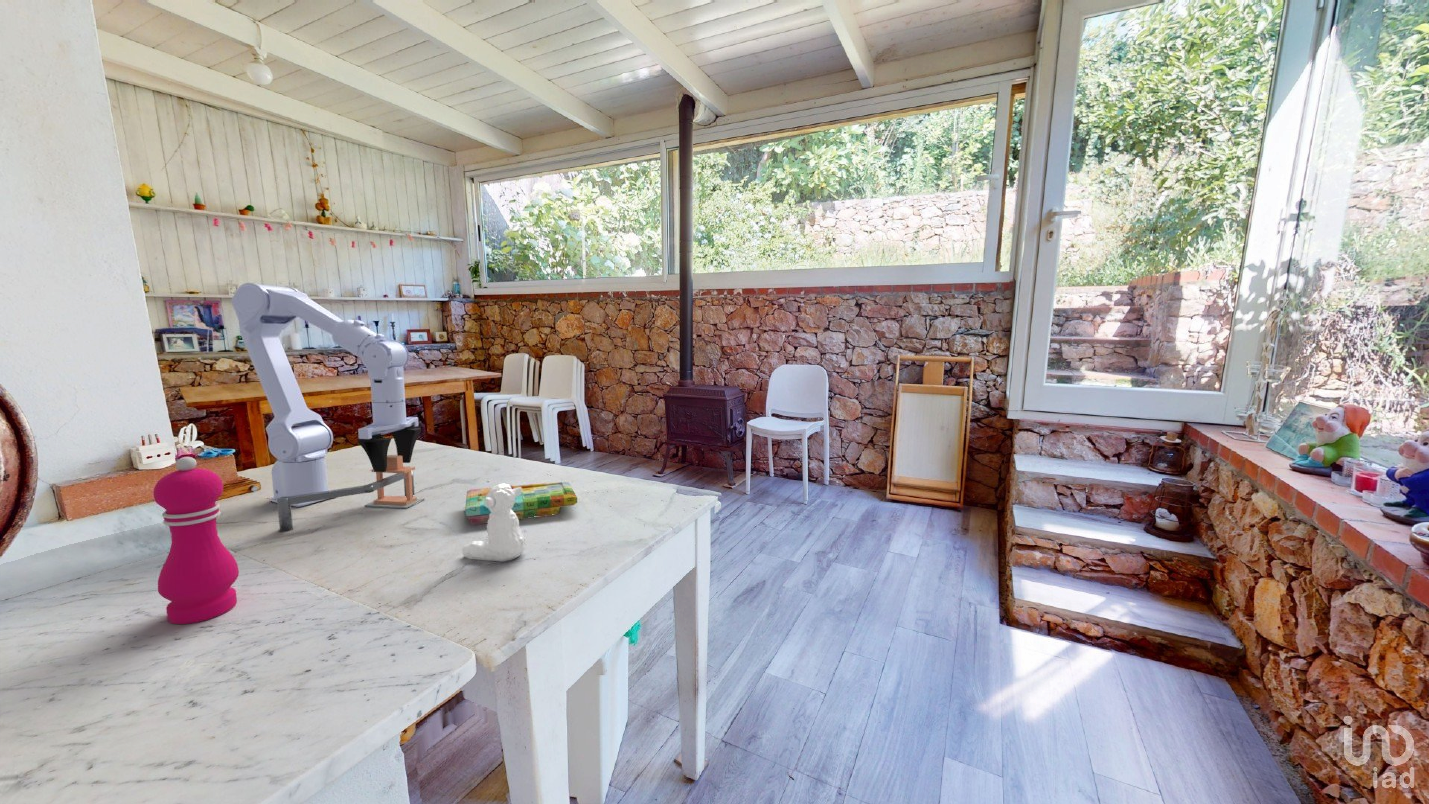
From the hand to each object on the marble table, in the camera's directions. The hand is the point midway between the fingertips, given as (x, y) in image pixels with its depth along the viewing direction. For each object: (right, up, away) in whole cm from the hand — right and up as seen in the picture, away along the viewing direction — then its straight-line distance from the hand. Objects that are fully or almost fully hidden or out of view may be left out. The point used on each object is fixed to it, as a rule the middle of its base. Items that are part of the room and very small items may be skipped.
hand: (392, 466), depth 106 cm
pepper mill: (+1, -13, -40) cm, 43 cm away
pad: (0, -8, +1) cm, 8 cm away
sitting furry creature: (+32, -12, -22) cm, 40 cm away
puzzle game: (+27, -9, -2) cm, 29 cm away
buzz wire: (-4, -8, -5) cm, 10 cm away
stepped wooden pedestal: (0, -7, +1) cm, 7 cm away
